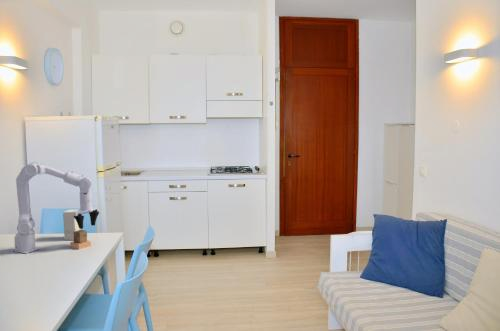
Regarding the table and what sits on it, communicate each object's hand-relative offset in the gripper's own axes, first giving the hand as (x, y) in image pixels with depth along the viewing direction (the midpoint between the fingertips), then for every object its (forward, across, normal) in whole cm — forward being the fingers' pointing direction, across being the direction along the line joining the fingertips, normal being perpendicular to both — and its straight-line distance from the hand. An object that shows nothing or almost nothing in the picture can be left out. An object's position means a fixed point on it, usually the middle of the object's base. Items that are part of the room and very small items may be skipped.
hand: (87, 226), depth 217 cm
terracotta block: (+10, -3, +2) cm, 11 cm away
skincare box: (+10, +6, +19) cm, 22 cm away
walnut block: (+7, -3, +2) cm, 8 cm away
